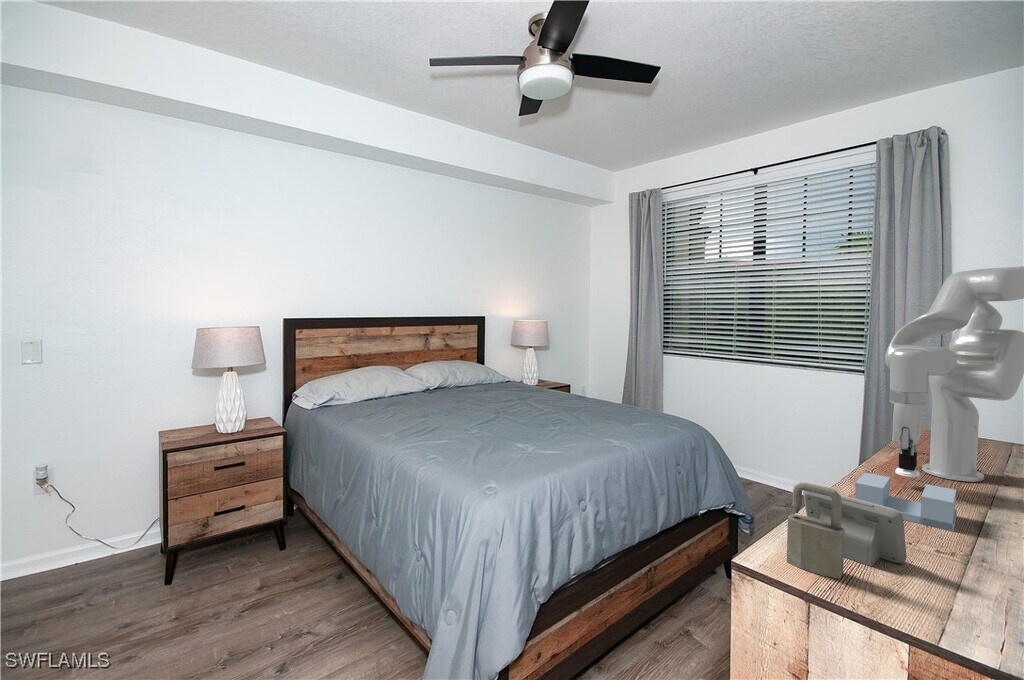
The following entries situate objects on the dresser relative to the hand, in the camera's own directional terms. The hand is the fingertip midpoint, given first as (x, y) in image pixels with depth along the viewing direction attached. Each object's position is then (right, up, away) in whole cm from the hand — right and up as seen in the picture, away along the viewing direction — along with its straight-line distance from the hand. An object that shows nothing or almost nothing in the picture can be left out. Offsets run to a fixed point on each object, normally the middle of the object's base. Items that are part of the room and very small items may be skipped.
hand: (907, 467), depth 122 cm
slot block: (-13, -6, -15) cm, 21 cm away
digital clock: (-37, -8, -32) cm, 50 cm away
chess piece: (0, -2, 0) cm, 2 cm away
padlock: (-48, -8, -38) cm, 62 cm away
